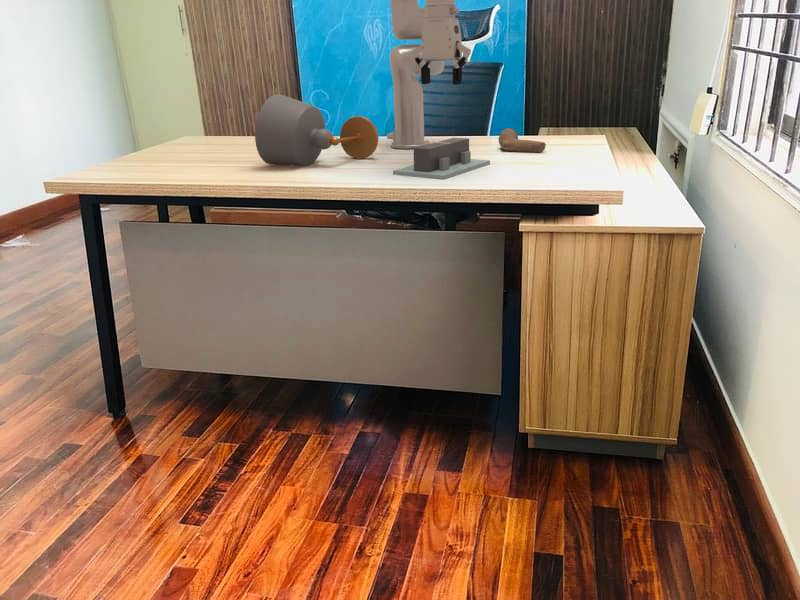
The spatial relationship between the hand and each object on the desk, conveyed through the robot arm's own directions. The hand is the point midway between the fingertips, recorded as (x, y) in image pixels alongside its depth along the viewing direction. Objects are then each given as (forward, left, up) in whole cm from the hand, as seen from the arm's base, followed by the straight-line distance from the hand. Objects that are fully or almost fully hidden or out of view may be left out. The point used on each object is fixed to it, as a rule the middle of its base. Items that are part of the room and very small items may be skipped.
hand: (441, 84), depth 184 cm
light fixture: (-38, -8, -23) cm, 45 cm away
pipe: (+5, +37, -23) cm, 44 cm away
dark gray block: (0, 0, -21) cm, 21 cm away
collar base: (0, 0, -22) cm, 22 cm away
